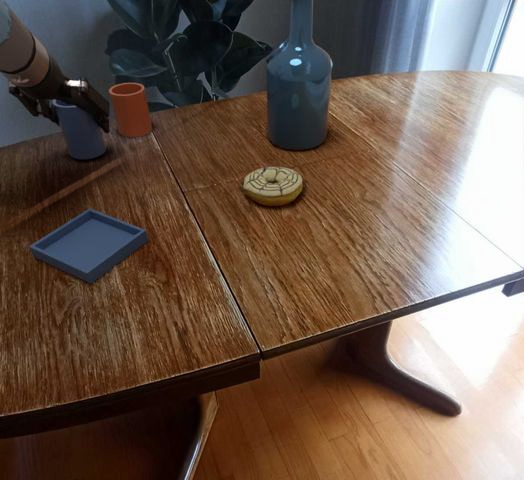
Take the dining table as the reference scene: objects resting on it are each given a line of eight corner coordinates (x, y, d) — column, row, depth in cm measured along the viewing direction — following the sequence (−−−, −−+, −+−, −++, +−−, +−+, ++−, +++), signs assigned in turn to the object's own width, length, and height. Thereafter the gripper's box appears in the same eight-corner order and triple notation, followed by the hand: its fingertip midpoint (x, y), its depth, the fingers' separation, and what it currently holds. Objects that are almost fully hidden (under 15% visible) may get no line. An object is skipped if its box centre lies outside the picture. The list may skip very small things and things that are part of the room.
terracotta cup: (113, 139, 105) (101, 91, 97) (136, 127, 109) (126, 80, 101) (138, 146, 102) (127, 98, 94) (160, 134, 106) (151, 86, 99)
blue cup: (61, 153, 95) (44, 102, 88) (88, 140, 99) (73, 89, 92) (87, 162, 92) (71, 110, 85) (113, 148, 97) (100, 96, 89)
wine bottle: (335, 132, 105) (352, -39, 82) (312, 157, 97) (324, -25, 75) (281, 122, 109) (283, -43, 87) (255, 145, 101) (249, -30, 79)
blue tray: (33, 257, 76) (28, 246, 74) (93, 218, 83) (89, 208, 81) (90, 284, 71) (86, 273, 69) (148, 240, 78) (146, 229, 76)
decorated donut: (262, 176, 92) (261, 157, 89) (310, 188, 88) (312, 169, 86) (234, 200, 86) (233, 181, 83) (285, 215, 82) (286, 195, 80)
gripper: (-36, 89, 73) (39, 144, 96) (91, 89, 73) (136, 145, 95) (-37, 40, 73) (39, 107, 96) (91, 40, 72) (136, 107, 95)
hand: (87, 126), depth 95 cm, fingers closed on blue cup, 7 cm apart
